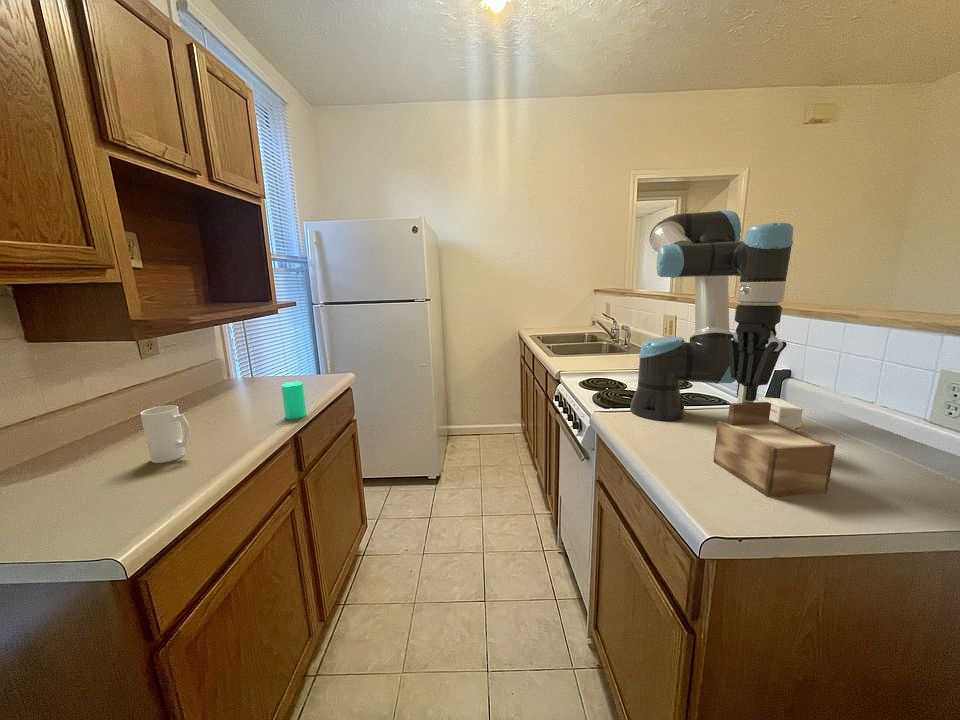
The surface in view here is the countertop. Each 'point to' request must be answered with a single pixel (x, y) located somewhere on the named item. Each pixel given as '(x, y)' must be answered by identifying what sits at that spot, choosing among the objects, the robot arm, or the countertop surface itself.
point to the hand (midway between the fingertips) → (743, 413)
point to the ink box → (784, 412)
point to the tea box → (774, 462)
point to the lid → (763, 425)
